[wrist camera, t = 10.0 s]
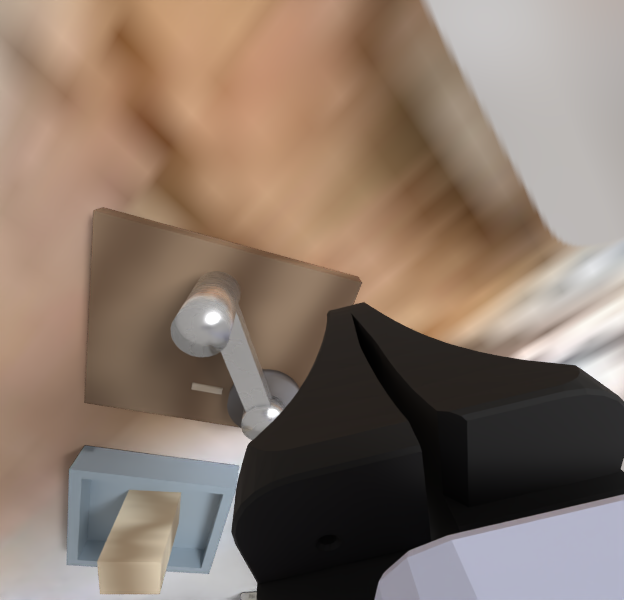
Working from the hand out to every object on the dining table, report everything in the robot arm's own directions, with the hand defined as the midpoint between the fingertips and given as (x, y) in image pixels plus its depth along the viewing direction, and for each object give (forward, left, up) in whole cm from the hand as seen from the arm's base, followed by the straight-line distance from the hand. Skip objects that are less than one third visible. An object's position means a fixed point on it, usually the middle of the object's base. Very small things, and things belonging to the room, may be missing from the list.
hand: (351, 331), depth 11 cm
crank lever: (+3, +7, -7) cm, 10 cm away
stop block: (+7, +25, -9) cm, 27 cm away
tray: (+7, +25, -9) cm, 27 cm away
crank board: (+5, +7, -9) cm, 13 cm away
